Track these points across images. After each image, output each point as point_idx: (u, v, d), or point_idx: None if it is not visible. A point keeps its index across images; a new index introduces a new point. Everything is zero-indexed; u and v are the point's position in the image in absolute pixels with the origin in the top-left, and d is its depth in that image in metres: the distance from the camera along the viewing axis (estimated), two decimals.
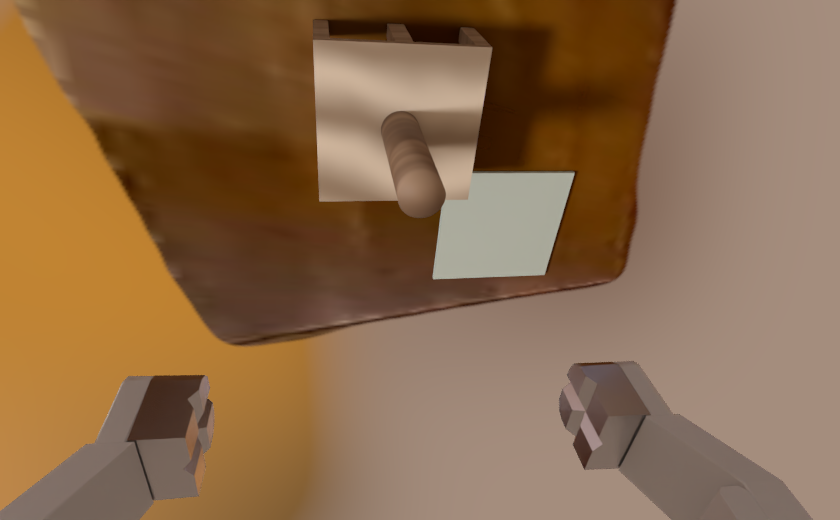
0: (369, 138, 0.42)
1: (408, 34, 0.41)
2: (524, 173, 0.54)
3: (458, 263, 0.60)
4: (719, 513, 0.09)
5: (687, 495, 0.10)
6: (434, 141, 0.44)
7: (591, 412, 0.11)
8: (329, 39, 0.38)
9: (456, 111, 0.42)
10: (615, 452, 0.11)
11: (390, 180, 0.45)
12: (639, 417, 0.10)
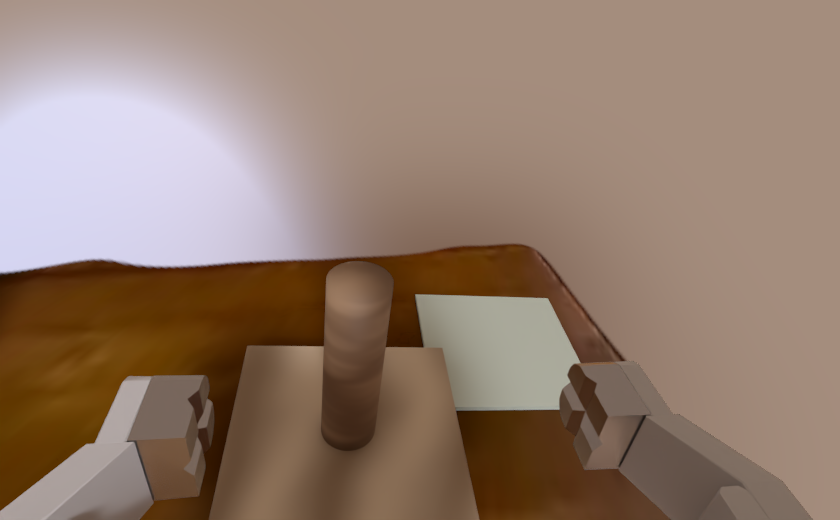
0: (362, 465, 0.29)
1: None
2: (423, 333, 0.47)
3: (565, 380, 0.44)
4: (719, 513, 0.09)
5: (687, 495, 0.10)
6: None
7: (591, 412, 0.11)
8: None
9: (322, 369, 0.34)
10: (615, 452, 0.11)
11: (427, 434, 0.31)
12: (639, 417, 0.10)
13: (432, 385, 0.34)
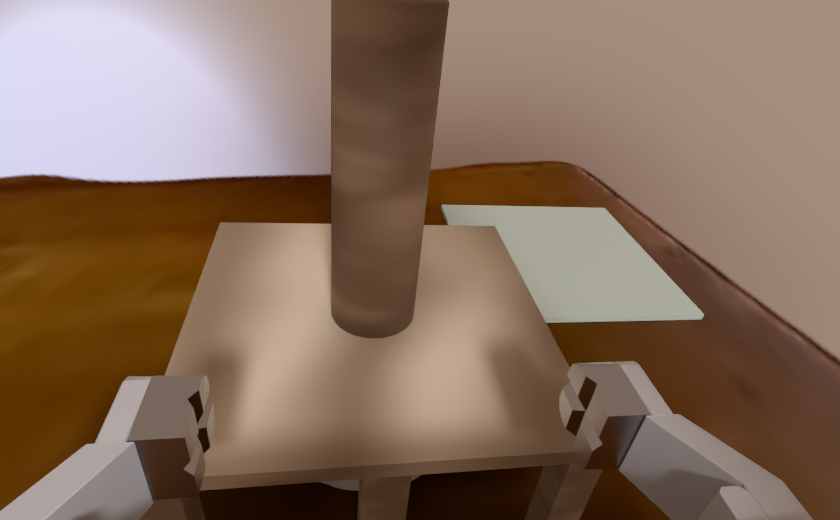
0: (399, 355, 0.18)
1: None
2: None
3: (648, 288, 0.33)
4: (719, 513, 0.09)
5: (687, 495, 0.10)
6: None
7: (591, 412, 0.11)
8: None
9: (330, 247, 0.23)
10: (615, 452, 0.11)
11: (492, 318, 0.20)
12: (639, 417, 0.10)
13: (489, 263, 0.24)
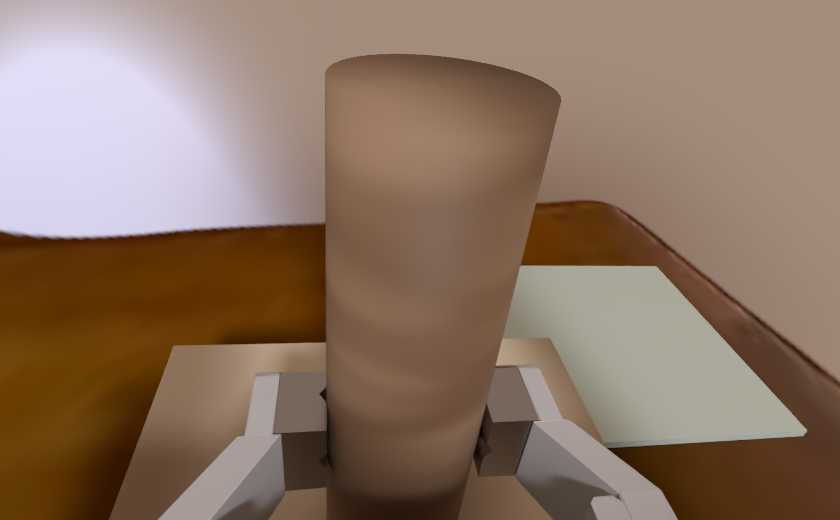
0: None
1: None
2: None
3: (730, 389, 0.26)
4: None
5: (573, 504, 0.10)
6: None
7: (483, 417, 0.11)
8: None
9: None
10: (508, 459, 0.11)
11: None
12: (527, 423, 0.10)
13: None
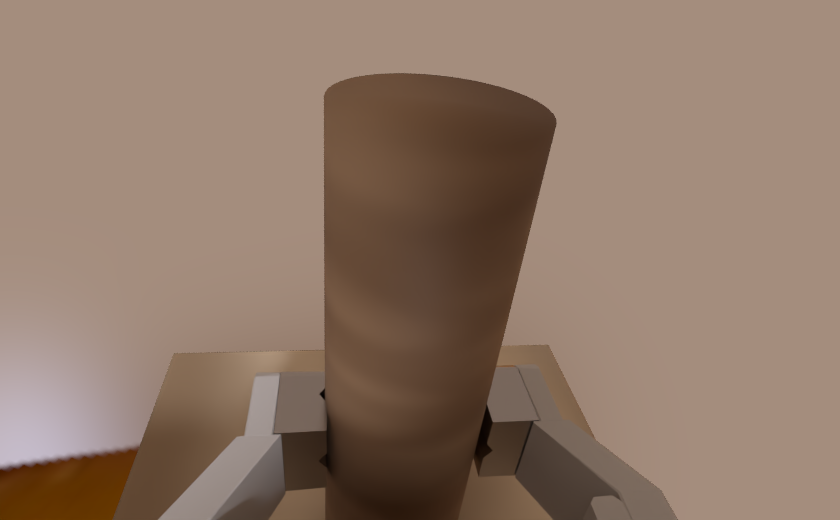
0: None
1: None
2: None
3: None
4: None
5: (573, 504, 0.10)
6: None
7: (483, 417, 0.11)
8: None
9: None
10: (508, 459, 0.11)
11: None
12: (527, 423, 0.10)
13: None
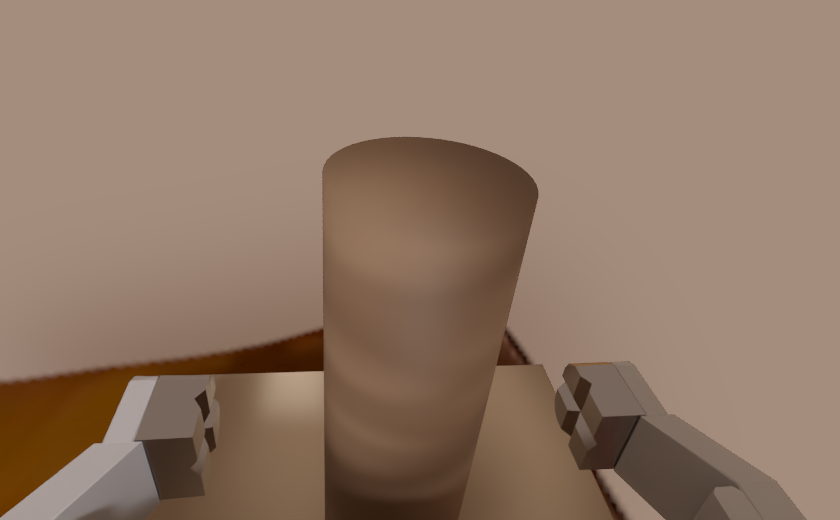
0: None
1: None
2: None
3: None
4: (713, 514, 0.09)
5: (682, 495, 0.10)
6: None
7: (586, 412, 0.11)
8: None
9: None
10: (610, 452, 0.11)
11: None
12: (634, 417, 0.10)
13: (542, 441, 0.17)
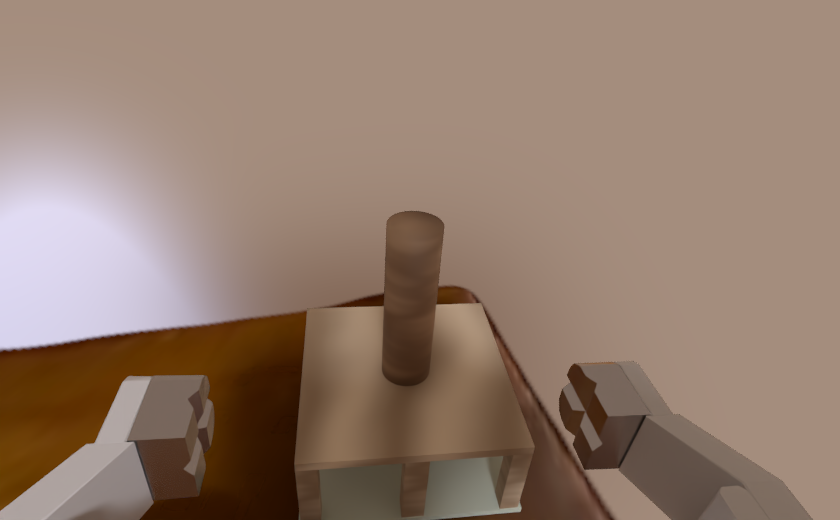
0: (422, 396, 0.32)
1: None
2: None
3: (478, 473, 0.35)
4: (719, 513, 0.09)
5: (687, 495, 0.10)
6: None
7: (591, 411, 0.11)
8: (296, 448, 0.29)
9: (376, 324, 0.38)
10: (615, 452, 0.11)
11: (475, 371, 0.34)
12: (639, 417, 0.10)
13: (476, 333, 0.38)
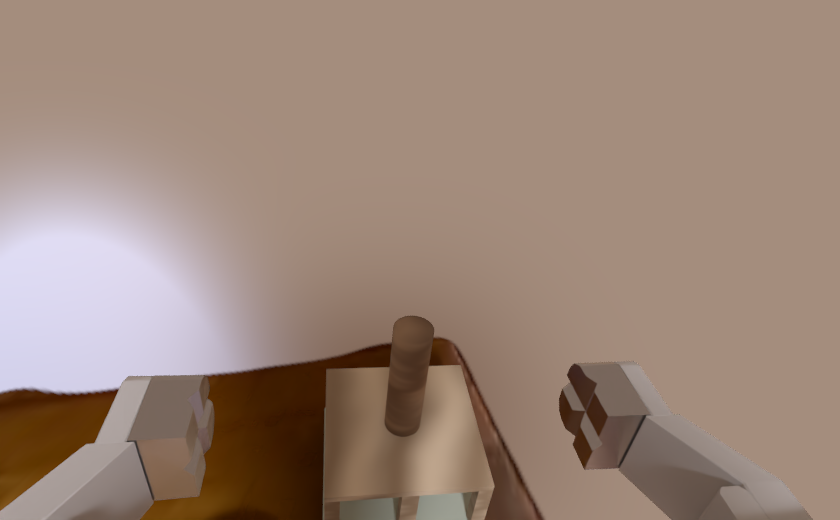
0: (414, 445, 0.44)
1: None
2: (324, 454, 0.49)
3: (454, 500, 0.47)
4: (719, 513, 0.09)
5: (687, 495, 0.10)
6: None
7: (591, 411, 0.11)
8: (324, 485, 0.40)
9: (380, 384, 0.50)
10: (615, 452, 0.11)
11: (454, 424, 0.46)
12: (639, 417, 0.10)
13: (455, 392, 0.50)
